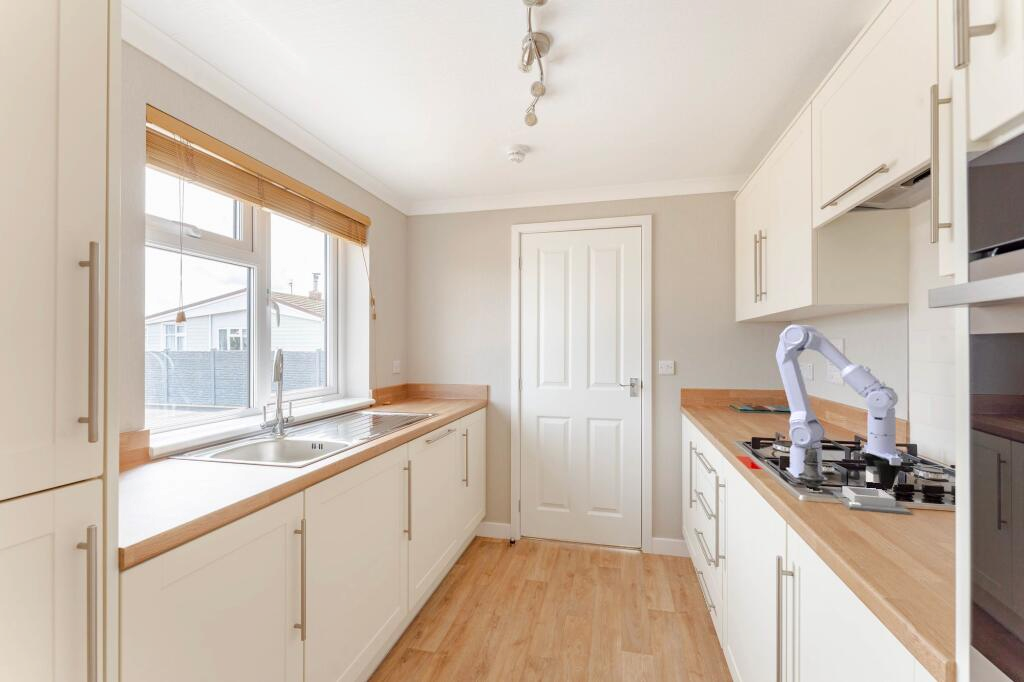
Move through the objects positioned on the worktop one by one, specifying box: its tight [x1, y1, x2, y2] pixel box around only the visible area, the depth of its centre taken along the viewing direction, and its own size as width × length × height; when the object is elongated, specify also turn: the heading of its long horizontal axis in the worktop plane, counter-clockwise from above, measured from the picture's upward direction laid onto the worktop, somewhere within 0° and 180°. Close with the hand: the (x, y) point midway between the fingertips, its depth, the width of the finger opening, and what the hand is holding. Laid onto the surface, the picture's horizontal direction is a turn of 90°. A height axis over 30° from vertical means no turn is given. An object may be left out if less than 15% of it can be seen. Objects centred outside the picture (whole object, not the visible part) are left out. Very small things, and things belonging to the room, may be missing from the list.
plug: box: [865, 465, 898, 491], centre depth 118 cm, size 4×5×6 cm
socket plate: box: [829, 485, 912, 516], centre depth 111 cm, size 12×12×3 cm
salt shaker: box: [798, 445, 825, 491], centre depth 120 cm, size 6×6×12 cm
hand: (881, 485), depth 118 cm, fingers open, 5 cm apart
